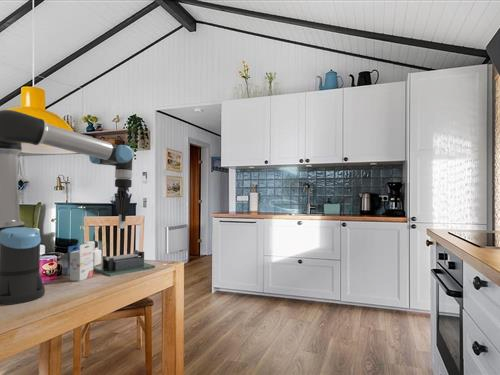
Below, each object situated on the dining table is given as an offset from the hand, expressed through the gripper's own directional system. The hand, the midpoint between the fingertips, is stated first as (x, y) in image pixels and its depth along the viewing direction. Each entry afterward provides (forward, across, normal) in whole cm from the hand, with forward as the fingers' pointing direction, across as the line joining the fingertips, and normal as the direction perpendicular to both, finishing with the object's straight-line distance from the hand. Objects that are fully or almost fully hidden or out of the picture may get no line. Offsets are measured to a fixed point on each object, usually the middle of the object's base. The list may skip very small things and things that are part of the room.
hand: (121, 228), depth 156 cm
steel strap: (+14, -1, -1) cm, 14 cm away
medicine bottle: (+20, +20, +5) cm, 29 cm away
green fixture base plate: (+20, 0, -2) cm, 20 cm away
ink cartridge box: (+20, -5, +19) cm, 28 cm away
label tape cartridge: (+20, +10, +18) cm, 29 cm away
